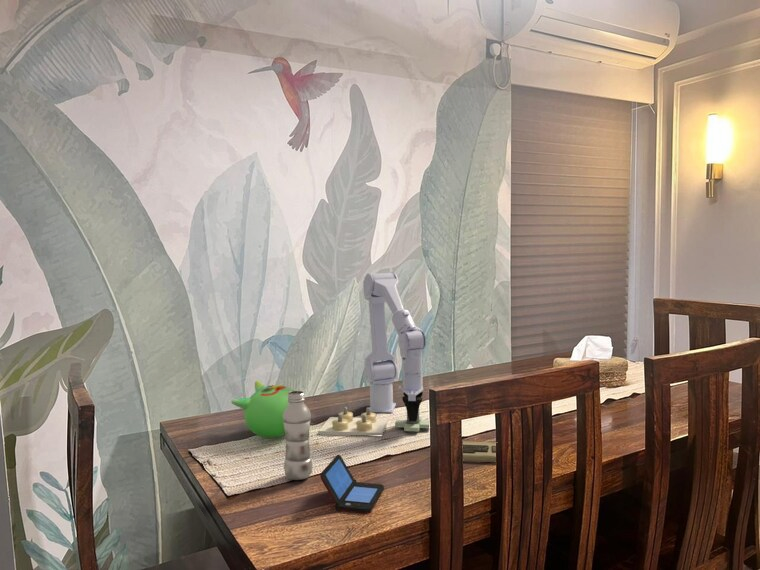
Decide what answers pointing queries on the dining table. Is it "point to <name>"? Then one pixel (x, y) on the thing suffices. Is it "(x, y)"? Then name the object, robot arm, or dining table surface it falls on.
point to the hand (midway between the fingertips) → (413, 418)
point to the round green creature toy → (265, 409)
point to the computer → (479, 451)
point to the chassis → (354, 424)
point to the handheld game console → (349, 488)
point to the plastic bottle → (297, 437)
